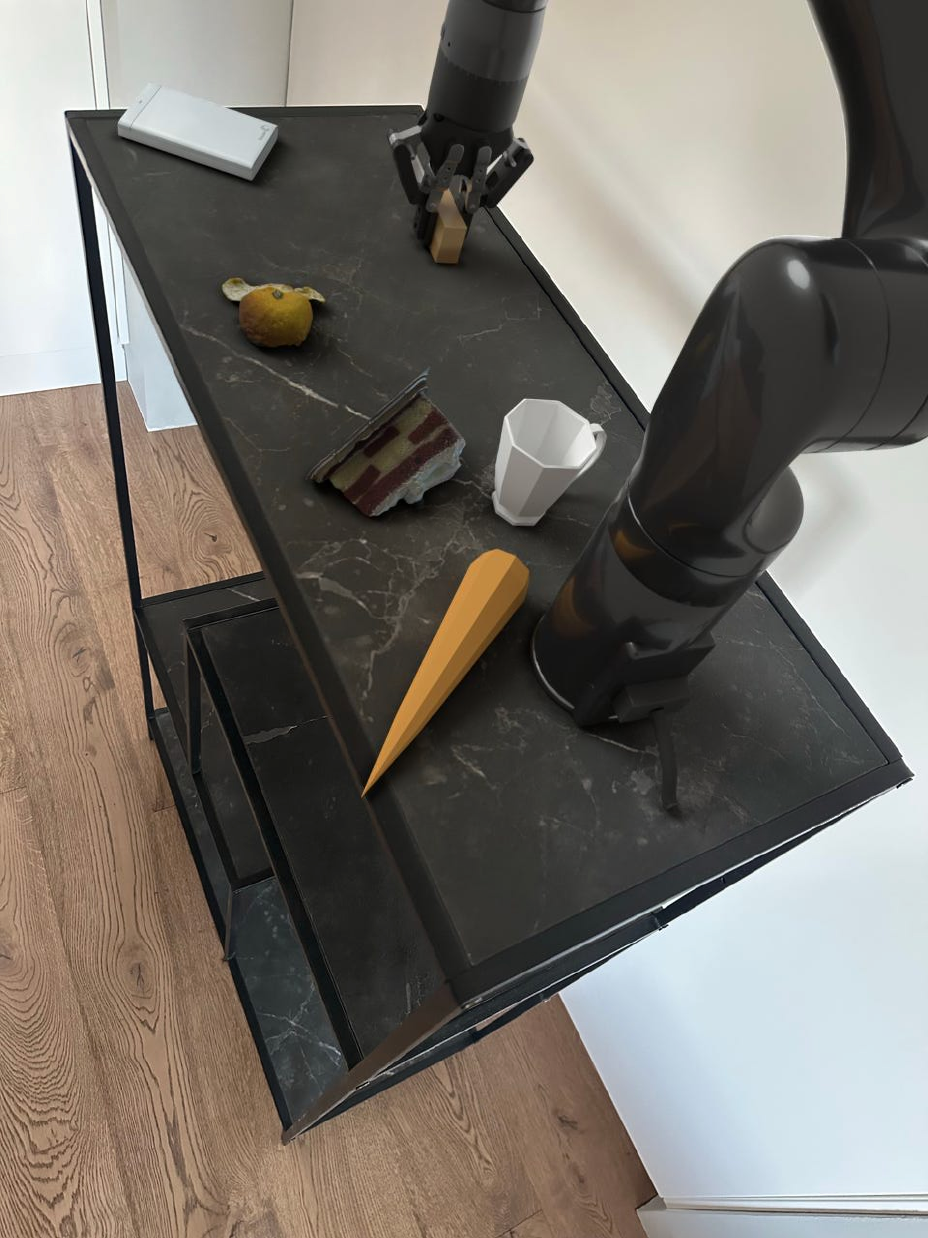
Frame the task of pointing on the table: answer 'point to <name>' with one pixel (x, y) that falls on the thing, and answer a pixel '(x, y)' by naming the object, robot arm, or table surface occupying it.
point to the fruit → (273, 311)
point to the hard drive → (198, 130)
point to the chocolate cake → (395, 453)
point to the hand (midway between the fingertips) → (438, 240)
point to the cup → (541, 458)
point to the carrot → (457, 645)
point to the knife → (445, 225)
